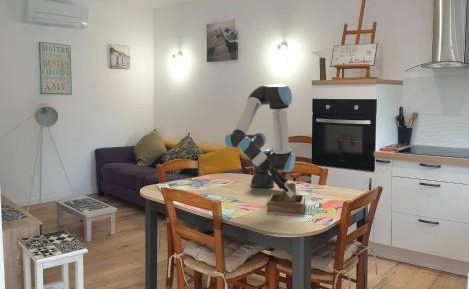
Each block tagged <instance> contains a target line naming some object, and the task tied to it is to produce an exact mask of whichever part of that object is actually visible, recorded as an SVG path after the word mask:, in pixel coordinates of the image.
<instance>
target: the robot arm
mask: <svg viewBox="0 0 469 289" xmlns="http://www.w3.org/2000/svg"><path fill="white" fill-rule="evenodd" d="M292 101H293V94H292V90H291V88H290V87H289V85H286V84H285V85H284V84H263V85H260V86H258V87H257V88H255V89H254V90H253V91H252V92H251V93H250V94H249V95H248V97H247V99H246V105H245V106H244V109H243V111H242V112H241V115H240V116H239V119H238V121H237V123H236V125H235V127H234V129H233V131H232V133H227V134H226V135H225V137H224V143H225V146H226V147H227V148H232V149H233V148H234V149H240V151H241V153H243V154H244V155H245V156H246V157H247V158H248V159H249V161H250V162H252V165H253V168H252V169H253V175H252V177H251V180H250V187H253V188H257V189H267V188H269V189H270V188H273V187H275V185H277V187H278V189H279V190H282V192H283V191H284V192H285V193H286V194H287V195H288V196H289V197H290V198H291V197H292V196H293V195H294V193H293V192H292V191H291V190H290V189H289V188H288V187H287V186H286V185H288V184H290V183H289V182H288V178H286V177H285V176H284V175H283V174H281V173H280V172H284V173H285V172H288V173H289V172H291V171H292V170H293V169H294V167H295V162H296V154H295V153H293V149H292V148H290V143H289V128H288V109H289V107H290V105H291V104H292ZM264 105H265V106H267V105H269V109H270V111H272V112H271V113H272V127H273V137H274V138H273V139H274V140H273V141H274V149H273V150H272V149H270V148H266V149H261V148H262V147H264V146H265V144H266V143H267V136H265V134H264V133H262V132H257V133H255V134H248V132H249V130H250V127H251V126H252V124H253V122H254V119H255V117H256V115H257V113H258V111H259V110H260V109H261V108H262V106H264Z"/></svg>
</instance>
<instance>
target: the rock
mask: <svg viewBox="0 0 469 289" xmlns="http://www.w3.org/2000/svg"><path fill="white" fill-rule="evenodd" d="M286 186H287V187H288V188H289V189H290V190H291V191H292V192H293V193H294V195H293V196H292V197H291V198H290V197H289V196H288V195H287V194H286V193H285V192H284V191H283V190H282V192H281V193H280V194H281V195H280V198H279V200H278V202H292V201H295V199H296V198H295V195H296V190H297V188H296V183H295V182H294V183H293V182H290V183H289V184H288V185H286Z"/></svg>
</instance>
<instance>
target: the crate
mask: <svg viewBox="0 0 469 289" xmlns="http://www.w3.org/2000/svg"><path fill="white" fill-rule="evenodd" d="M280 195H281V193H271V194H270V196H269V198H268V199H267V201H266V212H269V213H286V214H287V213H288V214H304V211H305V207H306V194H295V198H296V199H295V201H292V202H278V200H279V198H280Z"/></svg>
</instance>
